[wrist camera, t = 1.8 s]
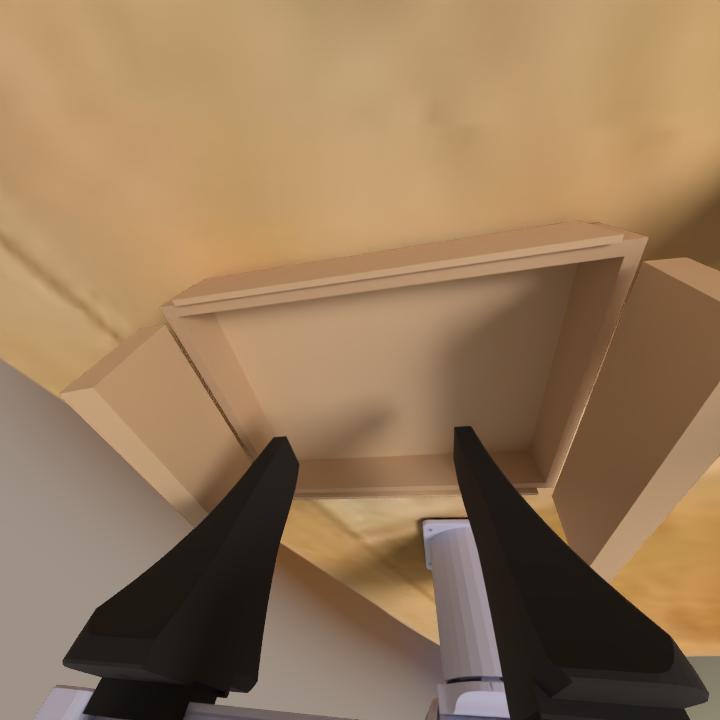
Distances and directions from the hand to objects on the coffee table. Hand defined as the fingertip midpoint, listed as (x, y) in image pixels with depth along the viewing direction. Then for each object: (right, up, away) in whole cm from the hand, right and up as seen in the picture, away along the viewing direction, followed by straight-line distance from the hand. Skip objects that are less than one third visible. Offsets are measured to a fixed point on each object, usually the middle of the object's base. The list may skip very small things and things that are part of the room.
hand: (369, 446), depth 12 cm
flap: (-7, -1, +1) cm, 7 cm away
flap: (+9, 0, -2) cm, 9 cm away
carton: (+1, +3, +3) cm, 5 cm away
